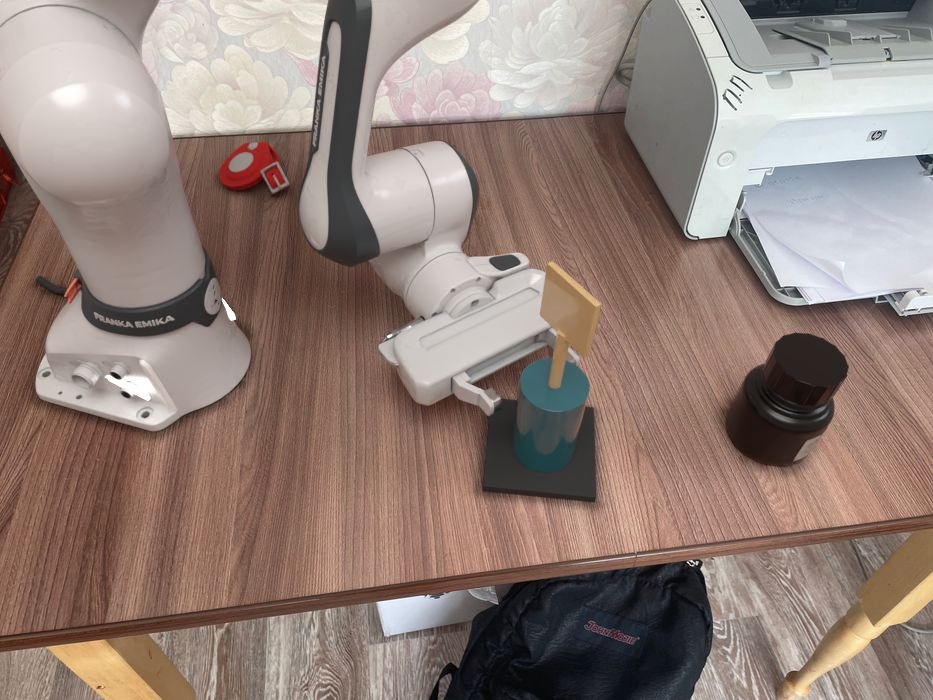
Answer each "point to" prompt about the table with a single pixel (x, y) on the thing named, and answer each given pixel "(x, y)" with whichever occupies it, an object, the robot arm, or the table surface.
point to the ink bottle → (787, 400)
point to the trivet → (518, 479)
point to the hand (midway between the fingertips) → (536, 387)
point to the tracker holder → (253, 168)
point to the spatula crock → (556, 378)
